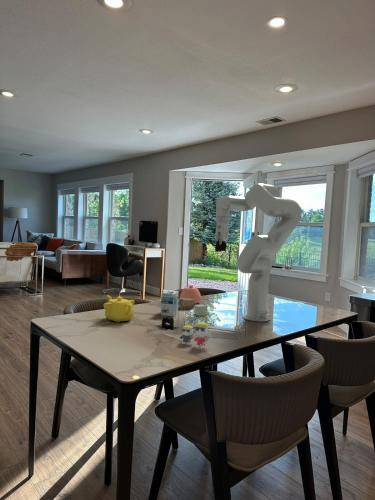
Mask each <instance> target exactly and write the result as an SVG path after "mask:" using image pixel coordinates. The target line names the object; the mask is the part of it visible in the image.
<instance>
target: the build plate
mask: <svg viewBox="0 0 375 500" xmlns="http://www.w3.org/2000/svg"><path fill="white" fill-rule="evenodd" d="M174 325H175V320H174V317H173V316H163V317H162V319H161V324H157V325H155V326H154V327H155V328H161V329H164V330H170V331H176V330H178V329H180V327H179V326H174Z"/></svg>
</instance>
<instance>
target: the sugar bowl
mask: <svg viewBox="0 0 375 500" xmlns="http://www.w3.org/2000/svg"><path fill="white" fill-rule="evenodd" d="M179 298H191V299H194V304H195V305H197V304H199V303H201V301H202V294H201V293H200V290H199V289H198V288H197V287H194V285H193V284H189V285H188V286H186V287H184V288H183V289H182V291H181V293H179Z"/></svg>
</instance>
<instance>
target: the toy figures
mask: <svg viewBox="0 0 375 500" xmlns="http://www.w3.org/2000/svg"><path fill="white" fill-rule="evenodd" d="M208 325H209V324H207V323H206V322H198V323H197V324H196V326H194V327H193V326H191V325H188V324H187V325H184V326H183V328H181V332H182V335H181V336H179V339H180V340H181V344H182V345H187V346H191V345H192V341H194V342H195V344H194V346H193V347H194V348H196V347H197V348H198V349H199V348H200V349H202V348H203V349H202V350H204V349H205V350H206V349H207V346H206V344H205V343H208V341H209V340H210V339H211V337H212V334H211V333H209V329H208V327H209V326H208ZM193 328H194V329H193ZM194 331H195V333H194ZM197 348H196V349H197Z"/></svg>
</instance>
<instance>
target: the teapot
mask: <svg viewBox="0 0 375 500" xmlns="http://www.w3.org/2000/svg"><path fill="white" fill-rule="evenodd" d="M106 296H107V299H108V301H107V302H105V303H103V308H104V315H105V318H106V319H108V320H109V321H113V322H115V323H120V322H129V321H131V320H132V319H133V318H134V315H135V314H134V308H133V307H134V305H135V300H134V299H126V298H123V296H117V297H116V298H112V296H111V295H108V294H107V295H106Z"/></svg>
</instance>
